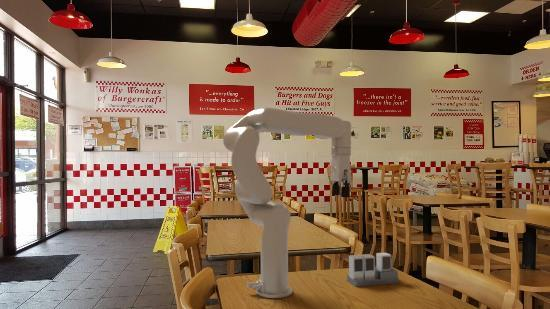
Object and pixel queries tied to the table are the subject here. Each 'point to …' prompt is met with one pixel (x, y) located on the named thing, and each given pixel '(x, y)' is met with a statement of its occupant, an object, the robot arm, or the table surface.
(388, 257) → the pale grey block
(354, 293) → the table surface
